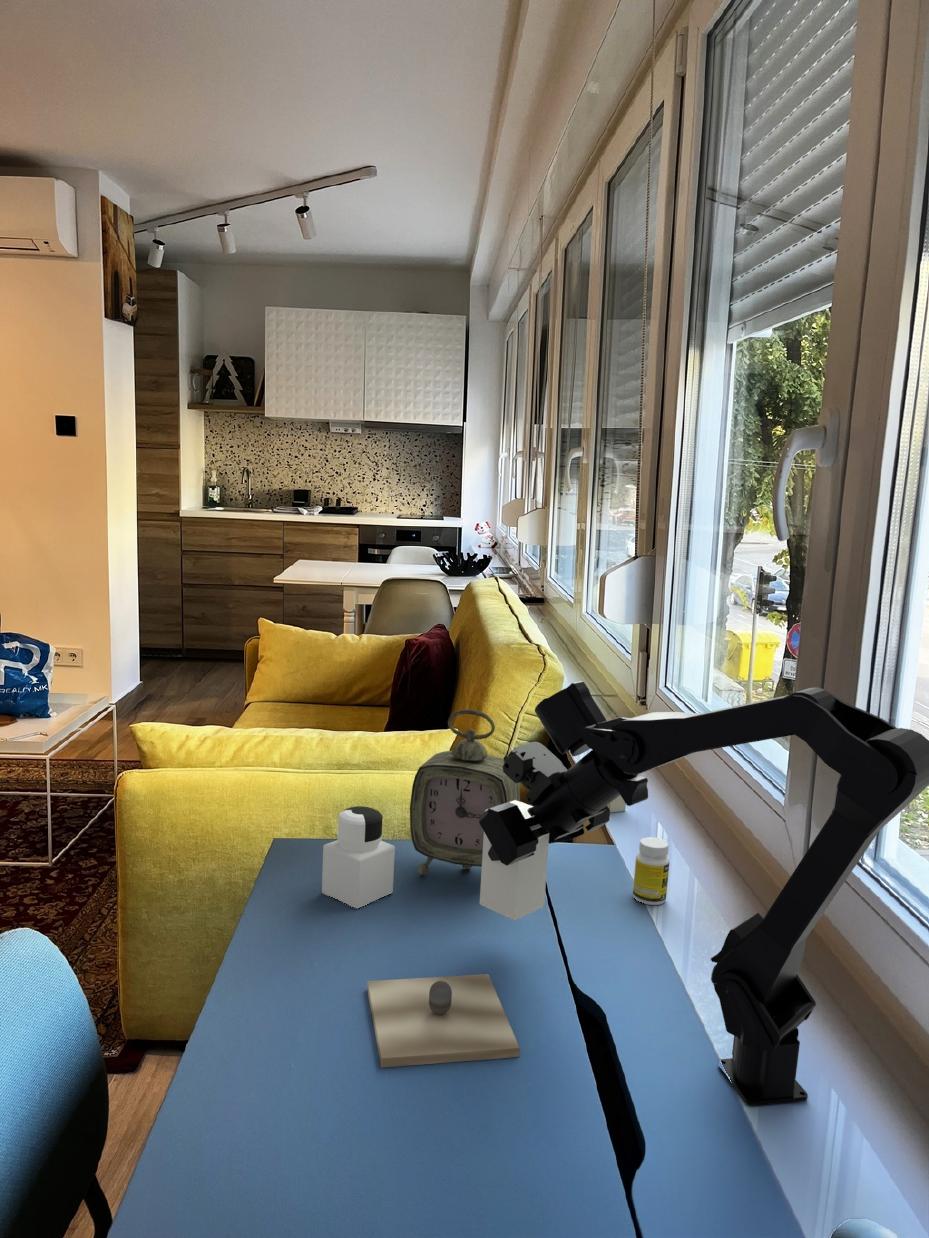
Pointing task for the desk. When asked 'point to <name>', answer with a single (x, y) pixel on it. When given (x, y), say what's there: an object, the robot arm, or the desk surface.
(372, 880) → the medicine bottle
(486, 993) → the post stand
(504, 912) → the tall white pillar
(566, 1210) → the desk surface
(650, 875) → the supplement bottle
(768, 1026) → the robot arm
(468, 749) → the tabletop clock
